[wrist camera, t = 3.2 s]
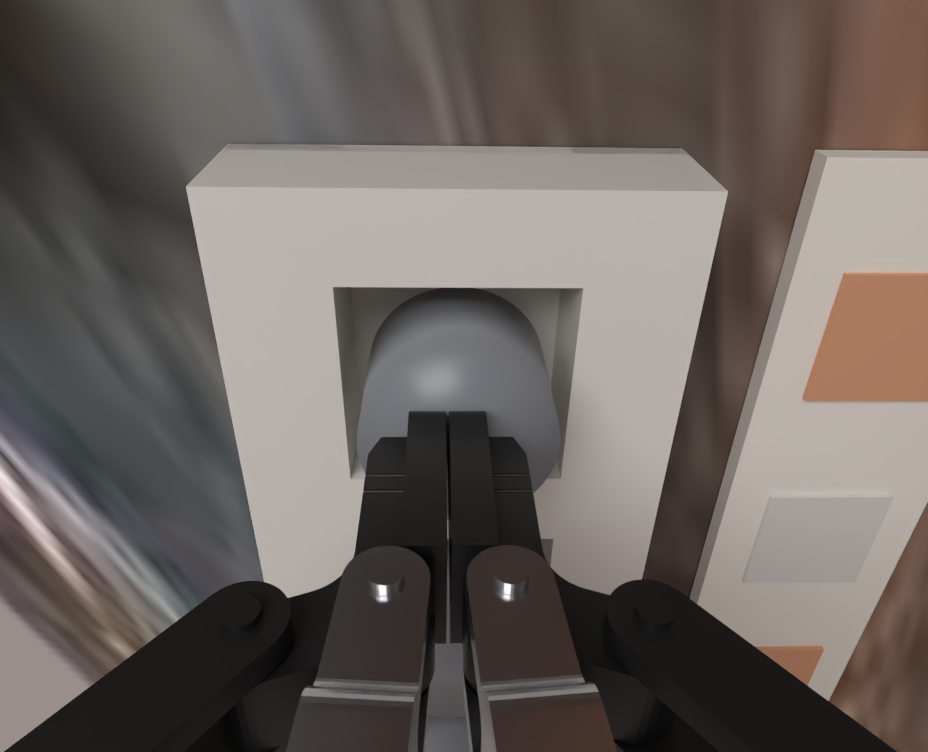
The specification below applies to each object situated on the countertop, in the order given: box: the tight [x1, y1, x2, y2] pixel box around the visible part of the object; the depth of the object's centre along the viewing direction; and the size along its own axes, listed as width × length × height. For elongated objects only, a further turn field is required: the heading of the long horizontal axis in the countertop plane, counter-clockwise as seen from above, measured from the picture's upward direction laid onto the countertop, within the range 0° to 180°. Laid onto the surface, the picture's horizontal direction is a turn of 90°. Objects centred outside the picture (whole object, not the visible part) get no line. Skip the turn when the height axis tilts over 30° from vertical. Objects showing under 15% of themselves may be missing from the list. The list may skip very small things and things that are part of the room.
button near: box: [356, 288, 561, 520], centre depth 15 cm, size 4×4×3 cm
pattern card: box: [690, 150, 928, 701], centre depth 22 cm, size 6×23×1 cm, turn 179°
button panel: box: [186, 144, 728, 598], centre depth 20 cm, size 10×23×3 cm, turn 179°
